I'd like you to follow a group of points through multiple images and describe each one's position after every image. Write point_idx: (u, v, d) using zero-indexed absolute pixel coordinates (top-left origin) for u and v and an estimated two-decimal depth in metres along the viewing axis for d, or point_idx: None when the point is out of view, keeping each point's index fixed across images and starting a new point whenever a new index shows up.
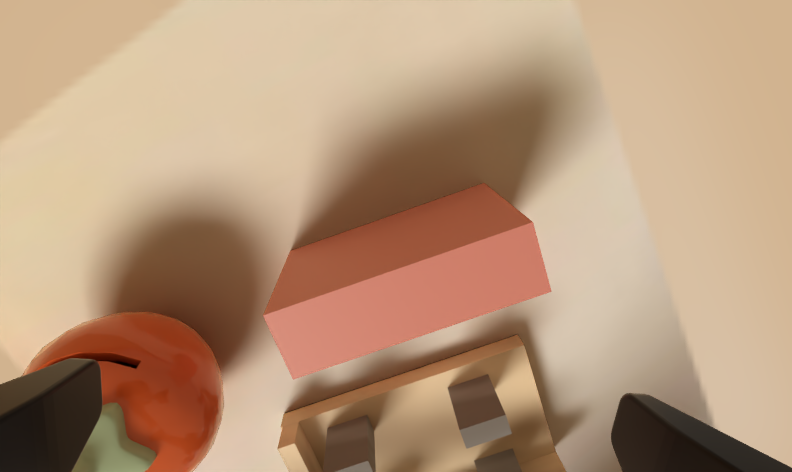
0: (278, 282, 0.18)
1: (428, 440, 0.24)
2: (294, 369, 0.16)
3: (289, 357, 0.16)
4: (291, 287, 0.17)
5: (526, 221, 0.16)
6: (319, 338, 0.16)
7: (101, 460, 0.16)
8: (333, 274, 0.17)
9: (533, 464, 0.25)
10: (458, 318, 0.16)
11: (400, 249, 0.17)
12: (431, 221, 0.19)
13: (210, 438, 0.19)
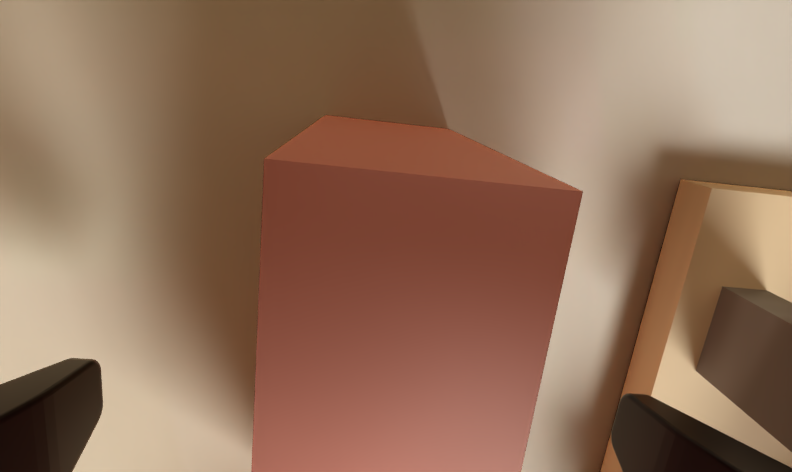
0: None
1: (773, 442, 0.12)
2: None
3: None
4: None
5: None
6: None
7: None
8: None
9: None
10: None
11: None
12: None
13: None
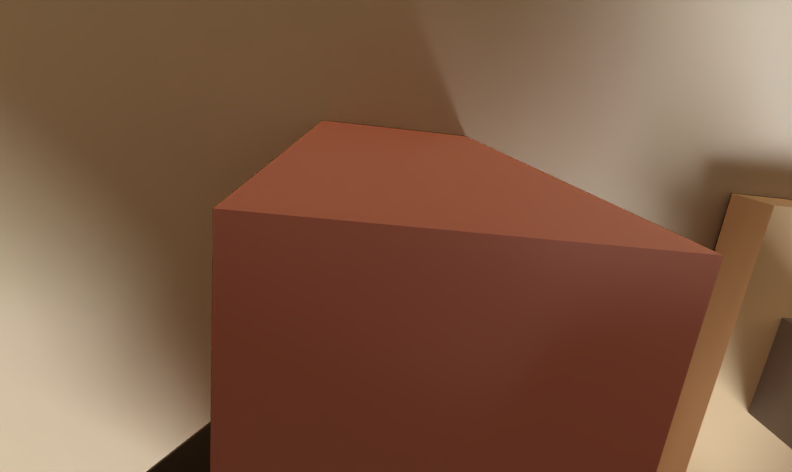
0: None
1: None
2: None
3: None
4: None
5: None
6: None
7: None
8: None
9: None
10: None
11: None
12: None
13: None
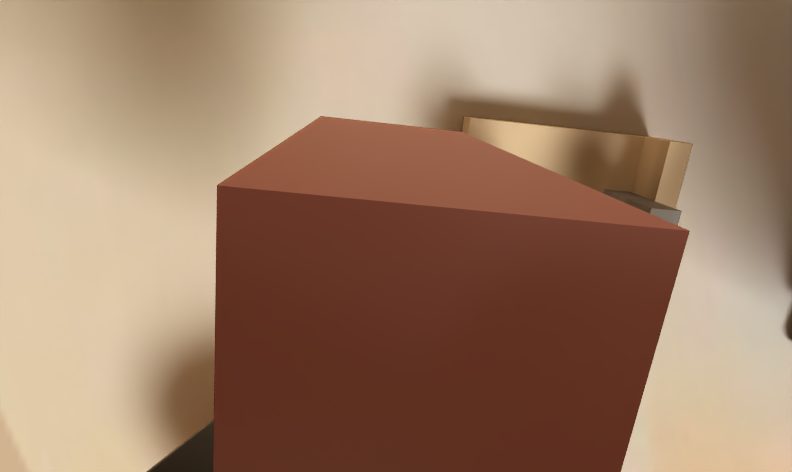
0: None
1: None
2: None
3: None
4: None
5: None
6: None
7: None
8: None
9: (640, 174, 0.18)
10: None
11: None
12: None
13: None
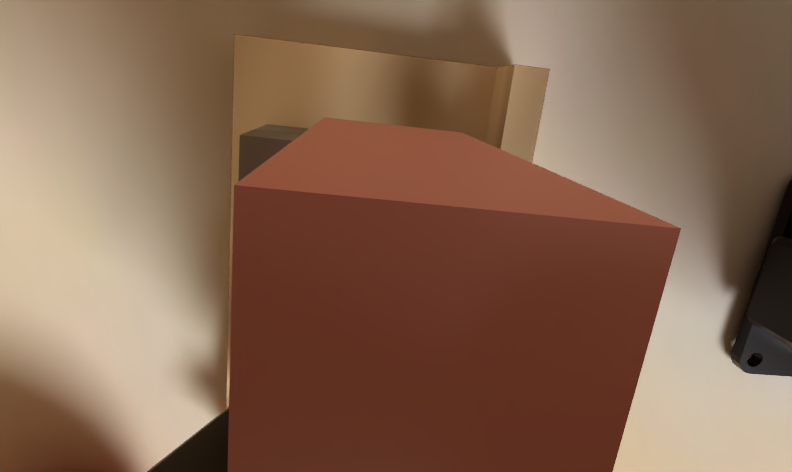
0: None
1: None
2: None
3: None
4: None
5: None
6: None
7: None
8: None
9: (491, 120, 0.12)
10: None
11: None
12: None
13: None
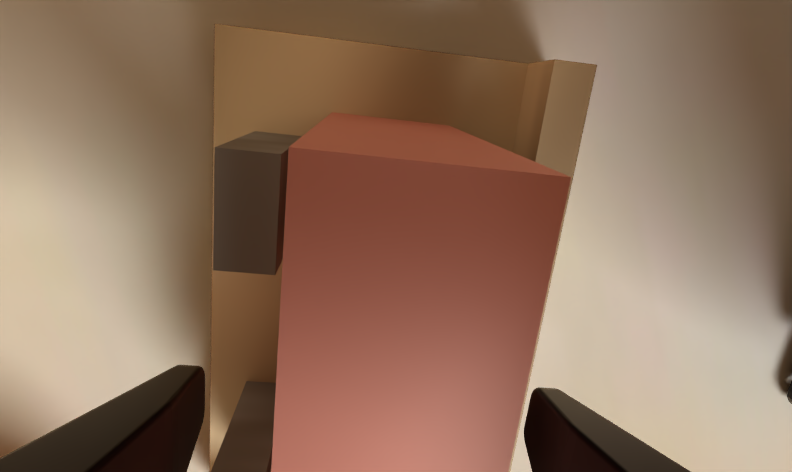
0: None
1: None
2: None
3: None
4: None
5: None
6: None
7: None
8: None
9: (521, 126, 0.10)
10: (494, 466, 0.05)
11: None
12: None
13: None
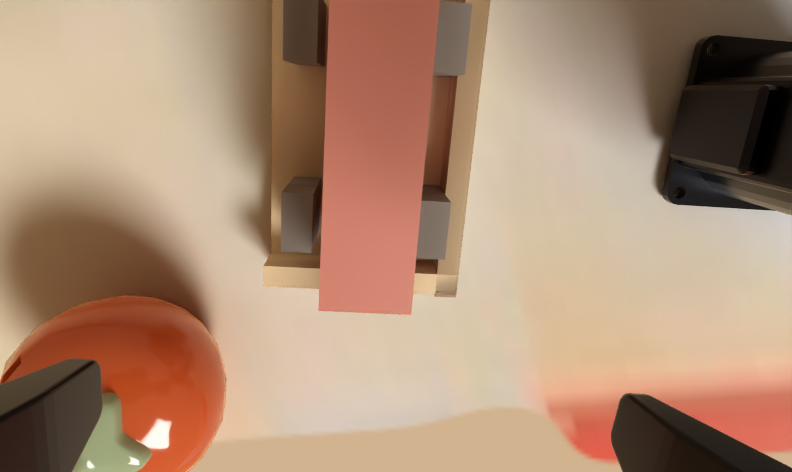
0: None
1: None
2: (399, 308, 0.13)
3: (382, 306, 0.13)
4: None
5: None
6: (373, 265, 0.13)
7: None
8: None
9: None
10: (424, 91, 0.12)
11: None
12: None
13: (162, 338, 0.16)
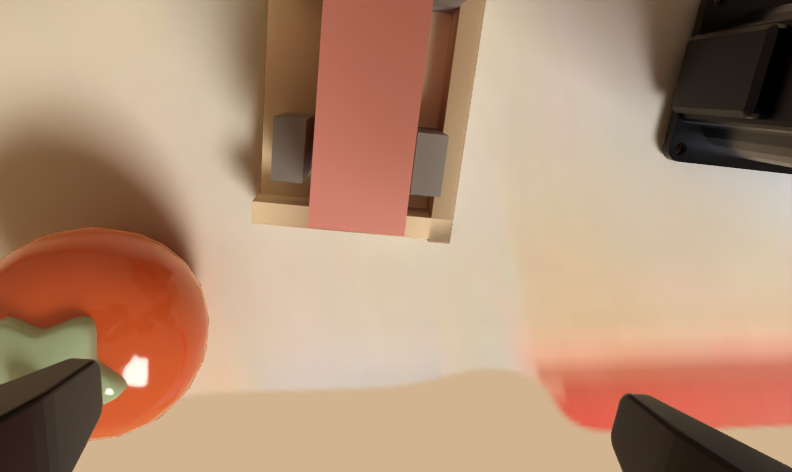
0: None
1: None
2: (391, 228, 0.13)
3: (374, 226, 0.13)
4: None
5: None
6: (366, 180, 0.13)
7: (32, 360, 0.14)
8: None
9: None
10: None
11: None
12: None
13: (143, 266, 0.16)
